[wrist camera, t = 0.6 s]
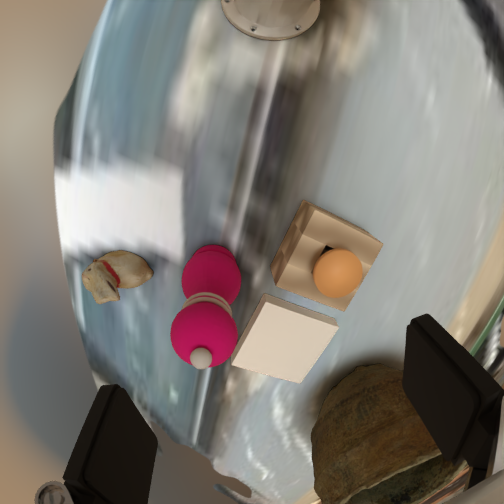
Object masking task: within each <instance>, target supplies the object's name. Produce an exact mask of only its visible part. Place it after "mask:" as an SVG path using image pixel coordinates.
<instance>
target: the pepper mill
mask: <svg viewBox="0 0 504 504" xmlns="http://www.w3.org/2000/svg"><path fill="white" fill-rule="evenodd" d="M240 286H241V274H240V270H239V268H238V266H237V264H236V260H235V258H234V256H233V254H232V253H231V252H230V251H229V250H227V249H226V248H224V247H222V246H219V245H207V246H204V247H202V248H200V249H199V250H197V251H196V252H195V254H194V255H193V257H192V258H191V259H190V260H189V261H188V263H187V264H186V266H185V268H184V270H183V274H182V288H183V292H184V294H185V296H186V298H187V300H186V301H185V303H184V304H183V307H182V310H181V311H180V312H179V313H178V314H177V316H176V317H175V319H174V321H173V323H172V327H171V333H170V334H171V342H172V346H173V348H174V350H175V352H176V353H177V354H178V356H179V357H180V358H181V359H183V360H184V361H185V362H187V363H189V364H191V365H193V366H194V367H196V368H198V369H205V368H207V367H213V366H217V365H219V364H221V363H223V362H224V361H226V360H227V359H228V358H229V357H230V356H231V355H232V353H233V351H234V349H235V347H236V344H237V338H238V333H237V327H236V324H235V321H234V320H233V318H232V311H231V308H230V306H229V305H230V304H231V303H232V302H233V301H234V300H235V298H236V297H237V295H238V293H239V291H240Z"/></svg>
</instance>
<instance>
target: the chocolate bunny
mask: <svg viewBox="0 0 504 504" xmlns="http://www.w3.org/2000/svg"><path fill="white" fill-rule="evenodd" d="M153 273H154V272H153V270H152V269H150V268H149V267H148V265H147V262H146V261H145V260H144V259H143V258H141V257H139V256H137V255H135V254H133V253H131V252H127V251H123V250H119V251H113V252H110V253H107V254H105V255H104V256H103V257H101V258H99V259H94V260H93V263H92V264H90V265H89V266H88V267H87V268H86V269H85V270H84V272H83V273H82V280H83V283H84V285H85V287H86V289H87V290H89V291H91V292H92V295H93V297H94V299H95V301H96V302H97V303H98V304H102V303H105V302H108V301H118V300H120V296H119V292H118V289H117V288H134V287H138V286H140V285H142V284H143V283H145V282H146V281H147V280H149V279H150V278H151V277H152V276H153Z"/></svg>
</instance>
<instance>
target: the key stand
mask: <svg viewBox="0 0 504 504" xmlns="http://www.w3.org/2000/svg"><path fill="white" fill-rule="evenodd" d="M325 245H327V246H329V247H332V248H334V249H336V248H343V249H347V250H349V251H351V252H352V253H354V254H355V255H356V256H357V258H358V259H359V260H360V262H361V264H362V269H363V273H362V278H361V281H360V283H359V285H358V286H357V287H356V288H355V289H354V290H353V291H352V292H351V293H349V294H348V295H346V296H343V297H339V298H331V297H327V296H325V295H324V294H322V293H321V292H320V291H319V290H318V288H317V286H316V284H315V282H314V279H313V269H314V266H315V264H316V262H317V260H318V259H319V257H320V255H321V253H322V251H323V249H324V247H325ZM382 246H383V243H381V242H380V241H379V240H377V239H376V238H375V237H373V236H372V235H371V234H369V233H368V232H367V231H365V230H364V229H362V228H360V227H358V226H356V225H354V224H352V223H350V222H348V221H346V220H344V219H342V218H340V217H338V216H336V215H334V214H332V213H330V212H328V211H326V210H324V209H322V208H320V207H318V206H316V205H314V204H312V203H309V202H307V201H305V200H303V201H302V203H301V205H300V207H299V209H298V211H297V213H296V215H295V217H294V219H293V221H292V223H291V225H290V227H289V229H288V231H287V234H286V236H285V238H284V240H283V242H282V244H281V246H280V248H279V250H278V252H277V254H276V256H275V257H274V259H273V261H272V263H271V265H270V268H271V271H272V275H273V278H274V282H275V285H276V286H277V287H280V288H282V289H285V290H287V291H290V292H293V293H295V294H298V295H301V296H303V297H306V298H309V299H311V300H314V301H317V302H319V303H322V304H325V305H328V306H330V307H333V308H336V309H338V310H341V311H345V310H346V308H347V306H348V305H349V303H350V302H351V300H352V298H353V297H354V295H355V293H356V292H357V290H358V288H359V287H360V285H361V283H362V282H363V280H364V278H365V276H366V275H367V273H368V271H369V269H370V268H371V266H372V264H373V262H374V261H375V259H376V257H377V255H378V253H379V252H380V250H381V248H382Z"/></svg>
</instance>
